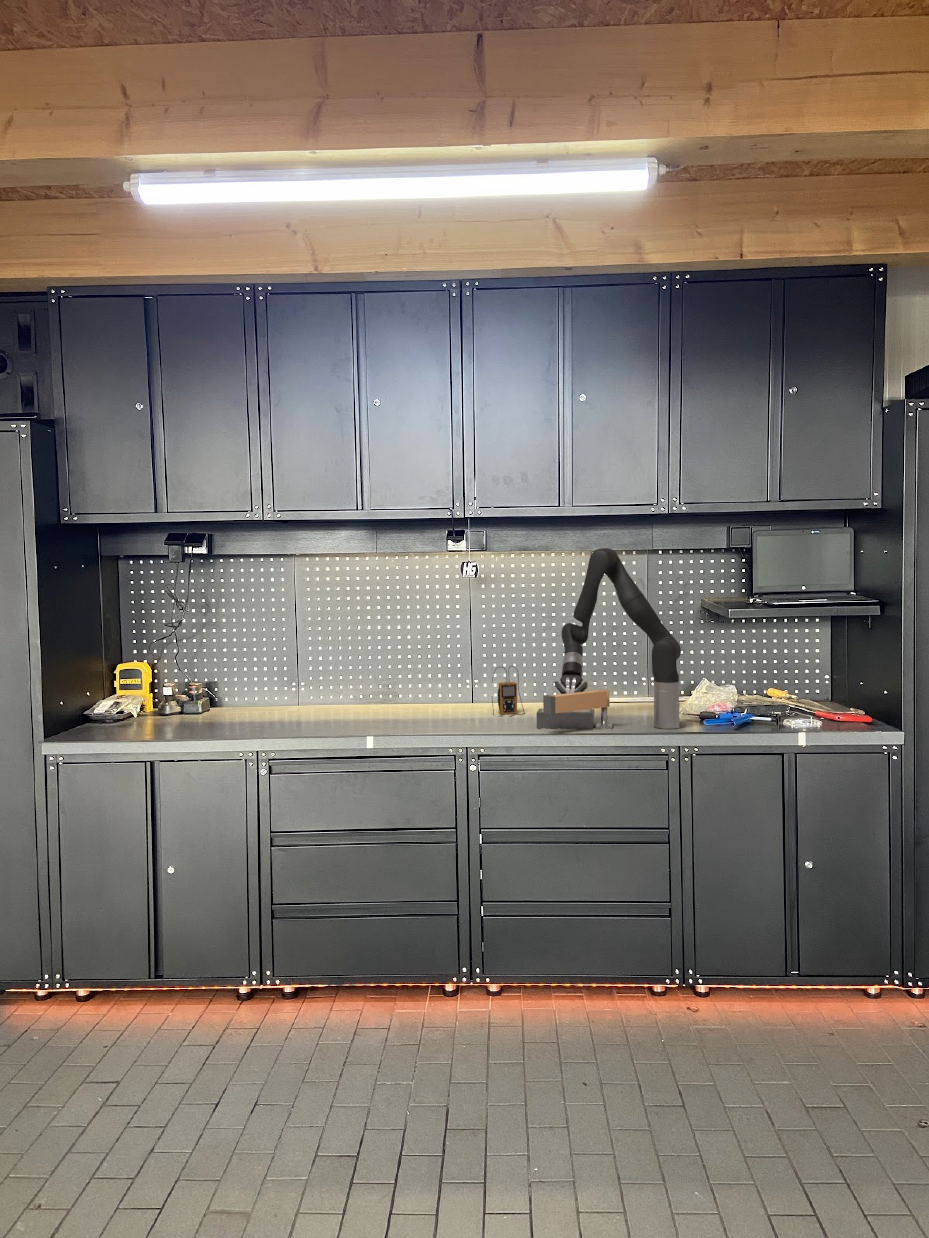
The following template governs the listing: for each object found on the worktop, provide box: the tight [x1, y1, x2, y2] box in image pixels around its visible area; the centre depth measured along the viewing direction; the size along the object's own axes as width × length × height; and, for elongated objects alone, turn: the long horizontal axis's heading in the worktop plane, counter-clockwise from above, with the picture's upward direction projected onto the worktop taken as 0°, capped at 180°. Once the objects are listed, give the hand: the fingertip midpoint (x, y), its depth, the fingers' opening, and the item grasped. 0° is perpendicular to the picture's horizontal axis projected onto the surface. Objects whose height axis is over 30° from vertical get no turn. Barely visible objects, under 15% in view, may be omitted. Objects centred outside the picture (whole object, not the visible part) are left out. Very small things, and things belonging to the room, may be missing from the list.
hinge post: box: [595, 707, 614, 730], centre depth 346 cm, size 6×6×8 cm
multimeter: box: [491, 665, 526, 717], centre depth 377 cm, size 15×10×20 cm
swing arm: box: [542, 689, 611, 714], centre depth 339 cm, size 29×4×6 cm, turn 122°
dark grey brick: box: [536, 708, 595, 730], centre depth 349 cm, size 21×10×6 cm, turn 79°
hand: (569, 703), depth 340 cm, fingers closed
